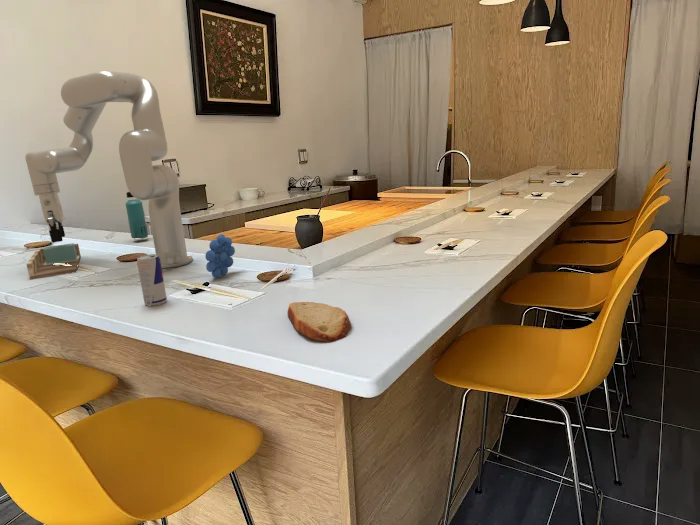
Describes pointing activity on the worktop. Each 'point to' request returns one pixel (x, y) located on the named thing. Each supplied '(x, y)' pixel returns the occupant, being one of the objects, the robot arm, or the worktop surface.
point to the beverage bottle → (136, 218)
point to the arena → (50, 265)
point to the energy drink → (151, 279)
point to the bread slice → (319, 321)
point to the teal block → (60, 253)
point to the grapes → (220, 256)
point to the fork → (278, 276)
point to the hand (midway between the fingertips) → (58, 239)
